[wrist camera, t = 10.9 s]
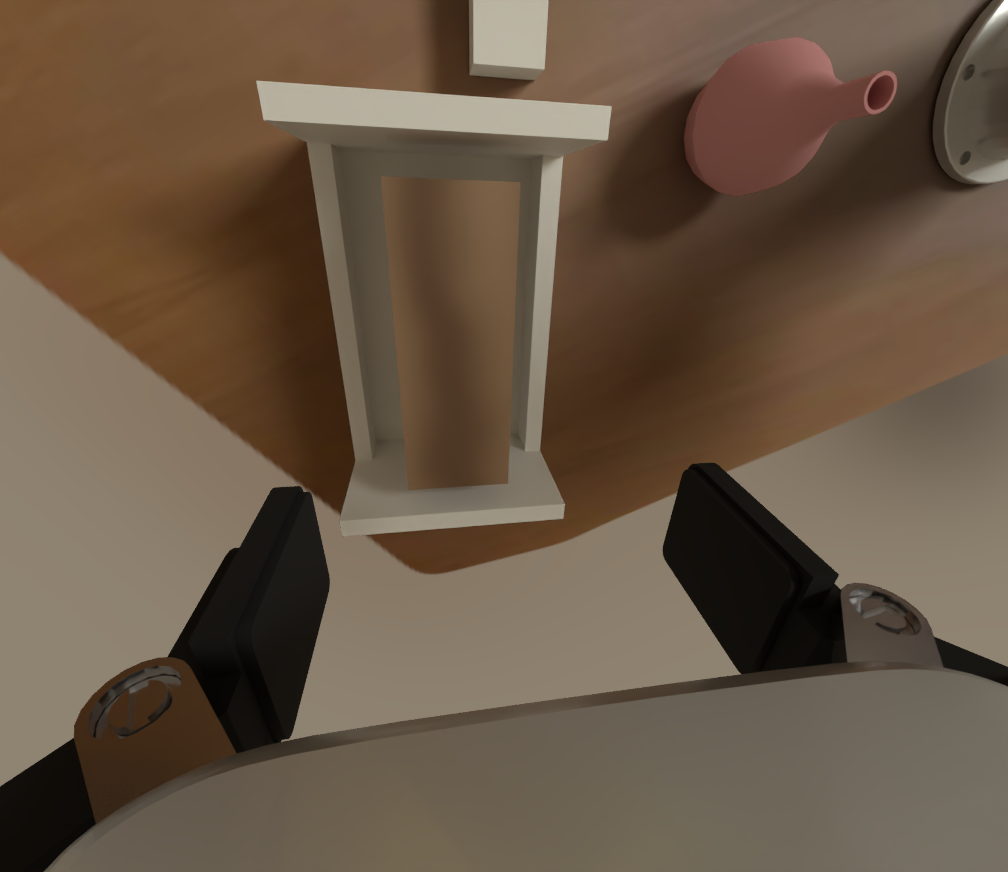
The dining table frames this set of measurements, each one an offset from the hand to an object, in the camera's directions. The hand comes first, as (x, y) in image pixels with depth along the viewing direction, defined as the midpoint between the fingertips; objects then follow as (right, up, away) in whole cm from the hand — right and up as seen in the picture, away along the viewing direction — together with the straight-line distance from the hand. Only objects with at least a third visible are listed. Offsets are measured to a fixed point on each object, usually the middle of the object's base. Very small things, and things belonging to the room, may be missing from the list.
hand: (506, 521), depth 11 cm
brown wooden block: (-3, +9, +16) cm, 18 cm away
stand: (-5, +11, +21) cm, 24 cm away
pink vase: (+15, +23, +19) cm, 33 cm away
